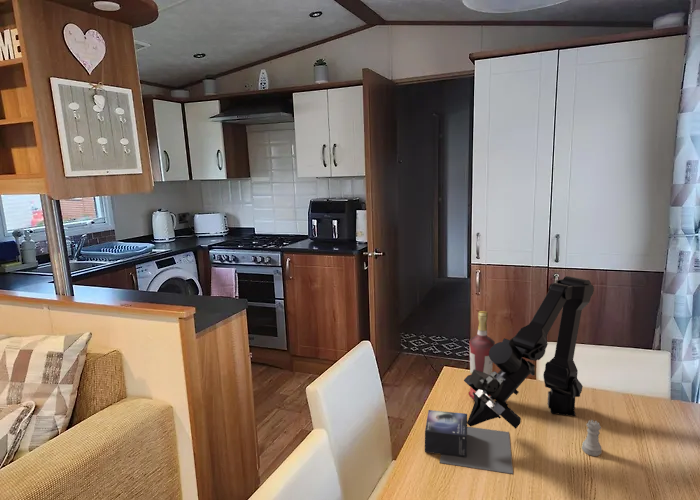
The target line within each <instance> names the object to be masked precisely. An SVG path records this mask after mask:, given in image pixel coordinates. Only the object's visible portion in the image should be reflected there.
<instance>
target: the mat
mask: <svg viewBox="0 0 700 500" xmlns="http://www.w3.org/2000/svg"><path fill="white" fill-rule="evenodd" d="M510 438H511V437H510V432H509V431H503V430H497V429H487V428H482V427H481V428H480V427H474V426H471V427H470V426H467V457H460V456H453V455H446V454H440V456H439V457H440V458H439V464H444V465H449V466H450V465H452V466H458V467H464V468H468V469H469V468H470V469H478V470H483V471H488V472H489V471H490V472H495V473H496V472H498V473H501V474H502V473H503V474H509V475H514V470H513V469H514V468H513V459H512V450H511V440H510Z"/></svg>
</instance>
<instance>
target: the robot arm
mask: <svg viewBox="0 0 700 500" xmlns="http://www.w3.org/2000/svg"><path fill="white" fill-rule="evenodd" d="M591 282H592V281H590V280H589V279H586V278H579V277H574V276H570V275H569V276H568V275H566V276H564V278H561V279H560V278H559V279H555V281H554V282H551V283H550V284H549V286H548V289H547V293H546V295H545V297H544V298H543V301H542V302H541V303H540V305H539V307H538V308H537V310H536V312H535V314H534V315H533V317H532V319H531V320H530V322H529V323H528V324H527V325H525V326H523V327H521V328H520V329H519V330H518V331H517V333H516V334H515V335H514V336H513V337H511V339H508V338H503V339H502V341H500V342H497V343H495V345H493V346H492V347H491V348H490V350H489V357H490V359H491V361H492V362H493V365H495V366H496V367H497V368H498V369H499V371H498V372H496V371H492V373H491V374H490V375H488V374H486V373H484V372H481V371H478V370H473V372H472V374H471V375H470V374H468V375H467V376H466V377H465V378H464V379H463V381H464V382H465V383H466V385H468V386H469V388H470V387H471V388H473V389H474V390H475V391H476V393H474V392H473V395H474V400H473V401H474V402H473V405H472V408H471V411H470V414H469V417H468V418H467V426H468V427H474V426H476V425H479V424H481V423H484V422H487V421H490V420H493V419H497V418H499V419H501V418H503V420H505V421H506V422H507V423H509V424H510V426H511V427H513V428H514V429H515V430H516V429H517V428H518V427H519V426H520V424H521V422H522V417H521V416H519V415H518V414H517V413H516V412H515V411H514V410H513V409H511V408H510V407H509V404H508V403H507V401H508V400H509V399H510V397H511V396H512V395H513V394H514V395H516V396H517V395H519V393H520V392H519V391H518V388H520V386H521V385H522V383H523V382H525V380H526V379H527V378H528V376H529V375H531V376H535V374H536V370H535V367H536V366H535V364H534V363H533V362H530V361H534V362H535V361H540V360H541V359H542V358H543V357H544V356H545V354H546V349H547V347H548V345H549V343H548V335H549V332H550V330H551V329H552V326H553V325H554V323H555V322H556V319H557V318H558V316H559V315H560V313H561V316H560V323H559V327H558V328H559V329H558V332H557V333H558V334H557V340H556V346H555V351H554V355H553V357H552V358H551V359H550V361H547V362H546V363H545V367H544V371H543V376H542V377H543V381H544V386H545V388H548V389H550V390H549V391H548V392H547V404H546V405H547V407H548V409H549V411H550V414H552V415H561V416H571V417H575V416H576V412H575V408H576V407H575V406H576V398H580V397H581V393H582V392H583V385H582V383H581V381H580V380H579V379H578V367H577V366H576V364H575V361H574V357H575V350H576V346H577V339H578V334H579V328H580V322H581V316H582V312H583V311H582V310H584V309H585V307H587V305H589V303H590V302H591V298H592V296H593V294H594V289H595V288H594V285H593V284H592V283H591ZM524 358H525V359H524ZM526 359H528V360H526ZM489 395H491V396H490V397H489ZM489 398H490V399H489Z"/></svg>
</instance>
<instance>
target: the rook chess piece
mask: <svg viewBox="0 0 700 500" xmlns="http://www.w3.org/2000/svg"><path fill="white" fill-rule="evenodd" d="M586 427H587V429H586V431H587V435H586V437H585V439H584V440H583V442H582V445H581V449H582V451H583V452H584V453H585V454H586V455H588V456H591V457H598V456H600V455H601V454H602V450H603V449H602V446H601V443H600V440H599V435H600V430H601V429H602V426H601V425H600V421H599V422H598V420H595V421H594V419H590V420H589V419H588V422H586Z"/></svg>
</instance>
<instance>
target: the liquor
mask: <svg viewBox="0 0 700 500" xmlns="http://www.w3.org/2000/svg"><path fill="white" fill-rule="evenodd" d="M477 314H478V315H477V319H478V327H477V333H476V335H474V336H472V337H471V338H470V339H469V341H468V342H469V375H471V374H472V372H473V370H478V371H481V372H484V373H486V374H488V375H490V374H491V373H492V372H493V365H494V363H493V362H492V361H491V359H490V357H489V350H490V348H491V347H492V346H493V345H495V344H496V343H495V340H494V339H493V338H491V337H490V336H488V327H487V322H488V317H489V316H488V314H489V313H488V311H486V310H480V311H478V313H477ZM473 392H474V393H476V391H475V390H474V389H473V388H471V387H470V386H469V392H468V395H469V397H470V398H471V399H472V400H473V401H475V400H474V395H473ZM490 396H491V395H489V397H490ZM489 399H490V398H489Z"/></svg>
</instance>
